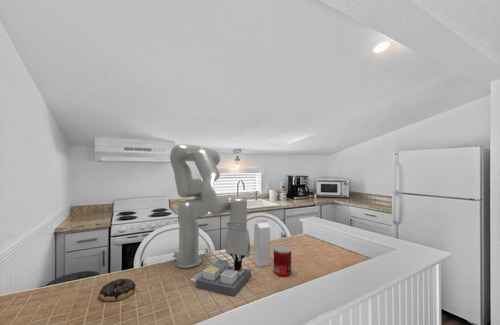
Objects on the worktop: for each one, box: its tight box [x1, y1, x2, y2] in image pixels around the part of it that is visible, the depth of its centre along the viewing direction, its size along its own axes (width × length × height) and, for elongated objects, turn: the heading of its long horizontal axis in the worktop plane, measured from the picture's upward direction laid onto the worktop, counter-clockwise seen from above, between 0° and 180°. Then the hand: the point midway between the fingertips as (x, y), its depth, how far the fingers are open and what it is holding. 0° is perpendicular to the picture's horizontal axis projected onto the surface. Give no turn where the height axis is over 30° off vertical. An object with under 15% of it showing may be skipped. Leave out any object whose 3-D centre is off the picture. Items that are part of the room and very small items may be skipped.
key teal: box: [212, 258, 230, 273], centre depth 101 cm, size 5×5×4 cm
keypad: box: [195, 265, 252, 298], centre depth 95 cm, size 17×17×3 cm
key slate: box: [221, 269, 238, 285], centre depth 90 cm, size 5×5×4 cm
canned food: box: [273, 245, 292, 277], centre depth 104 cm, size 8×8×11 cm
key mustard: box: [202, 265, 220, 281], centre depth 93 cm, size 5×5×4 cm
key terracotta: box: [232, 266, 246, 277], centre depth 98 cm, size 5×5×4 cm
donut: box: [98, 278, 137, 302], centre depth 85 cm, size 11×12×4 cm
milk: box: [253, 219, 271, 268], centre depth 114 cm, size 6×6×22 cm
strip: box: [189, 268, 206, 283], centre depth 100 cm, size 4×11×1 cm, turn 158°
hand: (237, 269), depth 98 cm, fingers closed
